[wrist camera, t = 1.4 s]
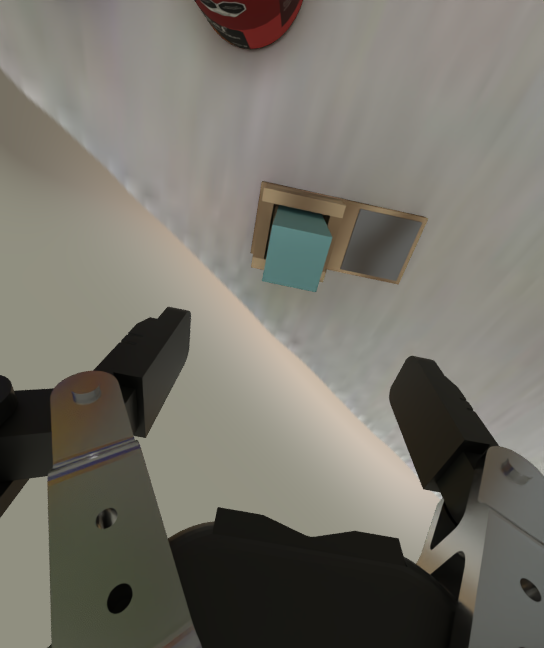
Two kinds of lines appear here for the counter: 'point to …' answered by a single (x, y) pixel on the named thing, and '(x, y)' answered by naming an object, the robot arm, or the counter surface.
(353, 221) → the holder
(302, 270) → the teal block
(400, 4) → the counter surface
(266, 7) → the canned food
